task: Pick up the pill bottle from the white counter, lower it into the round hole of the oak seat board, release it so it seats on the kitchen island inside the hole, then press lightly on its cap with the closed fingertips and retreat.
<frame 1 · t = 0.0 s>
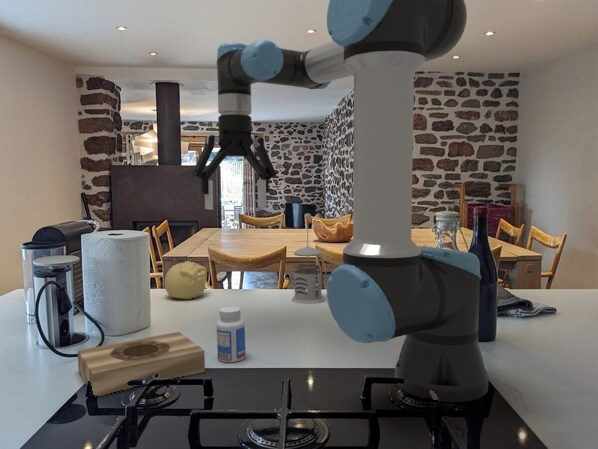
hand: (236, 208, 114), 28 cm above the kitchen island, fingers open, 13 cm apart
board: (141, 371, 89), on the kitchen island
pill bottle: (231, 359, 96), on the kitchen island
sculpture: (186, 297, 146), on the kitchen island
french press: (310, 300, 141), on the kitchen island
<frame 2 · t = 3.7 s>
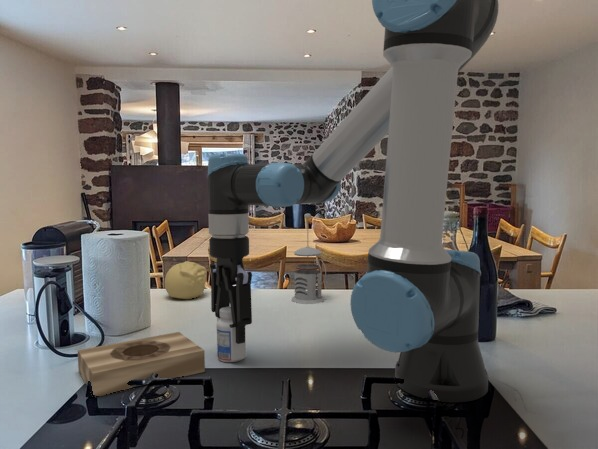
hand: (231, 353, 96), 1 cm above the kitchen island, fingers closed on pill bottle, 5 cm apart
pill bottle: (231, 358, 96), on the kitchen island, touching gripper
everything else where it was.
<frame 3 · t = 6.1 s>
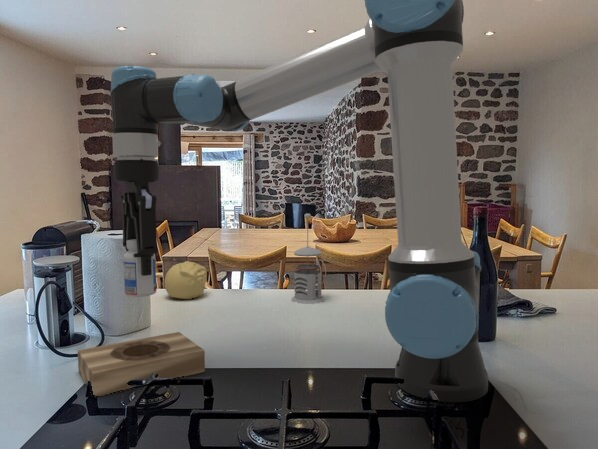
hand: (140, 289, 88), 15 cm above the kitchen island, fingers closed on pill bottle, 5 cm apart
pill bottle: (140, 295, 88), point 14 cm above the kitchen island, touching gripper
everything else where it was.
when the fingers open (4 cm above the kitchen island, at t = 8.6 s): pill bottle drops 1 cm, point 2 cm above the kitchen island.
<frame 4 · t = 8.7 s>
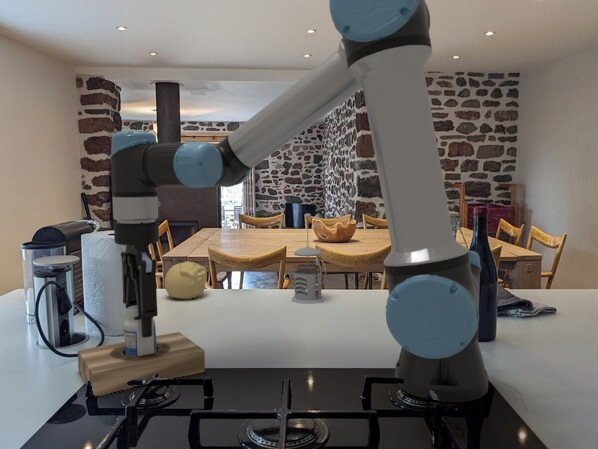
hand: (140, 348, 89), 4 cm above the kitchen island, fingers open, 5 cm apart
pill bottle: (141, 361, 89), point 2 cm above the kitchen island
everything else where it was.
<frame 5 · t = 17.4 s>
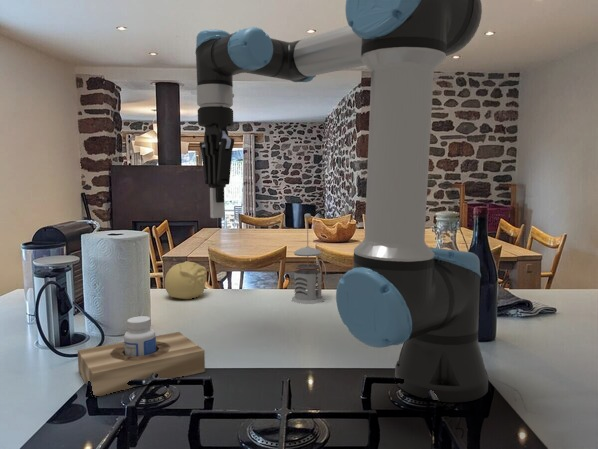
hand: (217, 217, 107), 26 cm above the kitchen island, fingers closed
pill bottle: (141, 372, 89), resting in board
everything else where it was.
at the end: pill bottle 0.1 cm off-centre on the board, point 0.0 cm above the board's base; pill bottle tilted 0°; the gripper is holding nothing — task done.
